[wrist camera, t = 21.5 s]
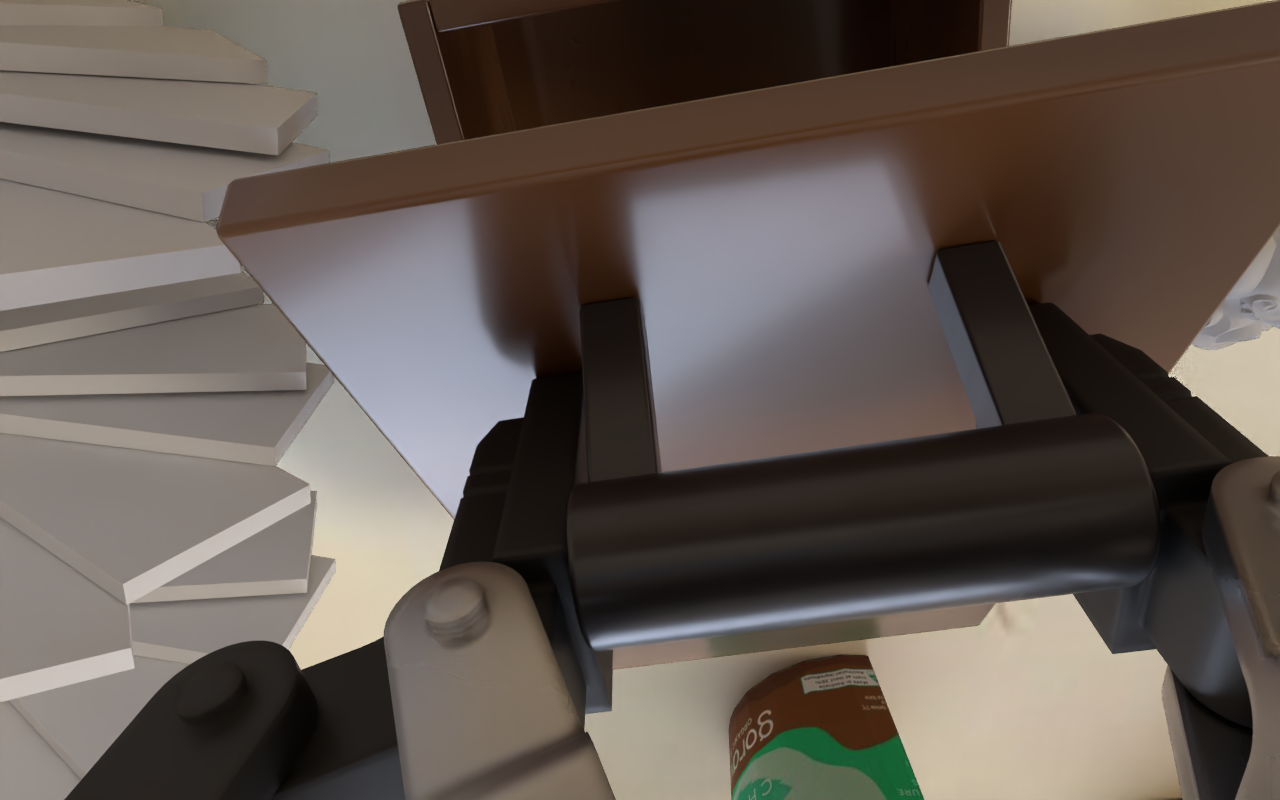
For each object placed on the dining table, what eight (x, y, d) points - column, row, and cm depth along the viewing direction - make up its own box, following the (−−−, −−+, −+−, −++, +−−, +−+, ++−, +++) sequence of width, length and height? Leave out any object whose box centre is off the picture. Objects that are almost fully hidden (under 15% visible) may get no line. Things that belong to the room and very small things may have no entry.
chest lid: (226, 175, 8) (100, 621, 6) (1381, -24, 7) (1816, 396, 5) (579, 645, 23) (587, 823, 21) (971, 597, 22) (1027, 776, 20)
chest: (460, -21, 20) (394, 4, 15) (907, -105, 19) (1021, -113, 14) (590, 505, 29) (581, 648, 23) (901, 463, 28) (970, 600, 23)
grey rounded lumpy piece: (1003, 217, 24) (1130, 319, 18) (1184, -22, 20) (1413, 5, 14) (1155, 301, 25) (1319, 422, 19) (1345, 91, 22) (1614, 157, 16)
